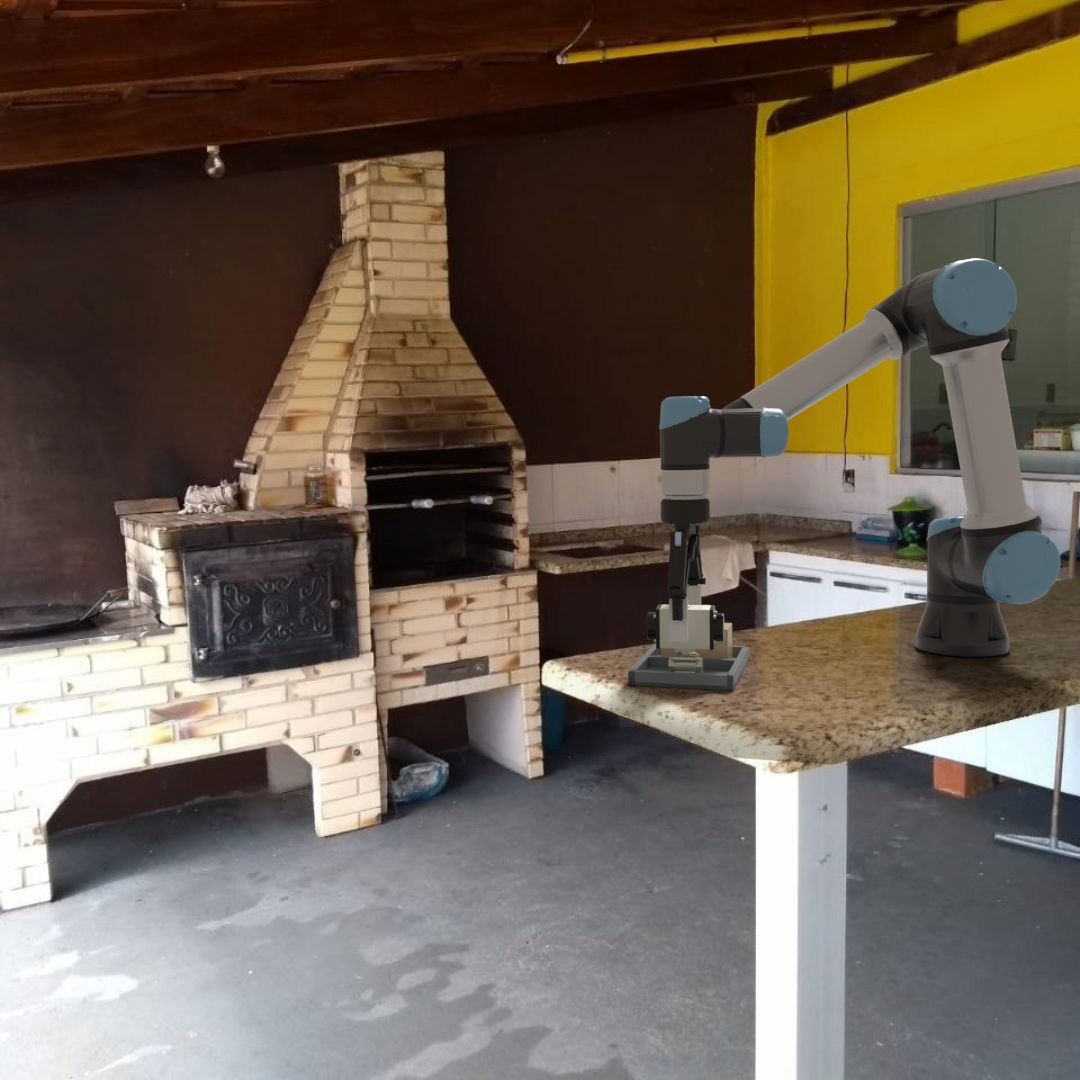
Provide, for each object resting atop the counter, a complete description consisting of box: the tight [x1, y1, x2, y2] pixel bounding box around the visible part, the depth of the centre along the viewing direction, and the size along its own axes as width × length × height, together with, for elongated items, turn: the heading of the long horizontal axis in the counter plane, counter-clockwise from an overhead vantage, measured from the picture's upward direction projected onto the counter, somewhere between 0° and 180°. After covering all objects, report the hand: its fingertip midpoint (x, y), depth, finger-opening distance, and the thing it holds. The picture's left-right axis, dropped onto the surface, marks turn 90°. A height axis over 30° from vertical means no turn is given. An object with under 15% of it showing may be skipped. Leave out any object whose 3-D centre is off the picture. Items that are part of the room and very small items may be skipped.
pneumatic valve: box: [646, 600, 725, 673], centre depth 164 cm, size 6×12×12 cm, turn 78°
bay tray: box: [627, 622, 750, 692], centre depth 170 cm, size 16×23×7 cm
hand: (686, 633), depth 164 cm, fingers open, 13 cm apart
